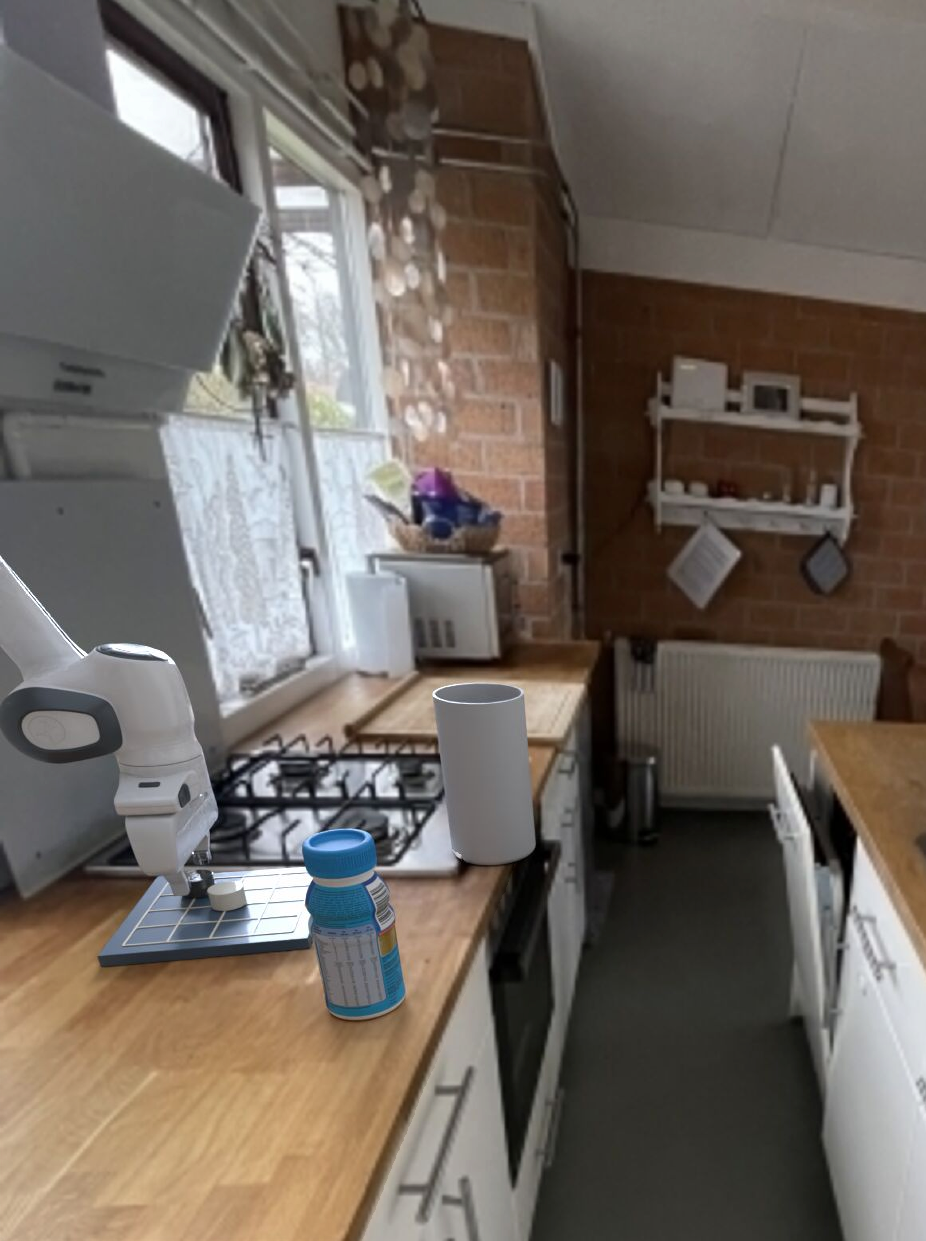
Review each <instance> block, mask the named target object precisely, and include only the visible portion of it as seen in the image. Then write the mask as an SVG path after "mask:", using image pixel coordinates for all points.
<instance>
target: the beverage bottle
mask: <svg viewBox="0 0 926 1241" xmlns="http://www.w3.org/2000/svg"><path fill="white" fill-rule="evenodd" d="M375 844H376V843H375V840H374V838H373V836H372V835H371V834H370V833H369V832H367V831H365V830H362V829H357V828H335V829H329V830H325V831H321V832H317V833H314V834H312V835H310V836H308V837H307V838H306V839H304V840H303V841H302V844H301V853H302V859H303V863H304V867H306V871H307V872H308V874H309V876H311V877H312V878H313V879H312V881H311V883H310V885H309V887H308V889H307V892H306V897H305V907H306V910H307V911H308V912H309V913H310V914H311V915H310V917H309V920H308V928H309V933H310V935H311V936H312V939H313V941H312V944H313V947H314V948H313V949H314V952H315V957H316V962H317V966H318V970H319V975H320V980H321V984H322V990H323V993H324V1000H325V1005H326V1008H327V1011H328V1012H329V1013H330V1014H331V1015H333V1016H334V1017H336V1018H339V1019H342V1020H346V1021H365V1020H370V1019H376V1018H378V1017H381V1016H383V1015H386V1014H388V1013H390V1012H392V1011H393V1010H396V1008H398V1007H399V1006H400V1005H401V1004H402V1002H404V999H405V997H406V994H407V993H406V991H407V990H406V986H405V982H404V975H403V969H402V968H403V967H402V963H401V955H400V948H399V942H398V936H397V935H398V934H397V931H396V930H397V929H396V914H395V910H394V908H393V907H392V905H391V904H390V902H389V901H390V899H391V891H390V889H389V887H388V885H387V883H386V882H385V880H384V879H383V877H382V876H381V875H380V874H379V873H378V872H377V871H376V870H375V869H376V867H377V863H378V858H377V850H376V846H375Z"/></svg>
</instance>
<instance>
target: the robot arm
mask: <svg viewBox="0 0 926 1241" xmlns="http://www.w3.org/2000/svg"><path fill="white" fill-rule="evenodd" d="M0 648H1V649H2V651H4V652H5V653H6V655H7V656H8V657H9V658H10V659H11V660H12V661H13V663H14V664H15V665H16V667H17V668H18V669H19V671H20V673H21V676H22V679H23V682H21V683H20V684H18V685H17V686H16V687H14V688H13V690H11V691H10V692H9V693H8V695H7V696H5V698H4V699H3V700H2V702H1V704H0V731H1V733H2V735H3V736H4V738H5V739H6V740H7V742H8V743H9V744H10V745H11V746H12V747H13V748H14V749H15V750H16V751H18V752H20V753H21V754H23V755H25V756H26V757H28V758H31V759H33V760H35V761H38V762H42V763H46V764H53V765H54V764H56V765H57V764H58V765H61V764H63V765H64V764H68V763H69V764H71V763H75V762H80V761H86V760H91V759H96V758H100V757H103V756H107V755H114V756H115V758H116V761H117V765H118V768H119V774H118V777H119V783H118V786H117V790H116V792H115V795H114V797H113V804H114V809H115V812H116V814H117V815H118V816H125V818H124V820H125V821H124V824H125V830H126V834H127V837H128V841H129V844H130V846H131V849H132V853H133V854H134V857H135V859H136V862H137V865H138V867H139V869H140V870H141V871H142V872H143V873H144V874H145V875H146V876H148V877H153V876H154V877H161V876H163V877H164V878H165V879H166V880H167V882H168V883H169V884H170V886H171V889H172V893H173V894H174V895H175V896H184V895H188V894H189V892H190V890H191V889H192V886H191V882H190V878H186V876H185V872H184V871H185V870H186V869H185V864H187V862H188V860H189V859H190V857H192V859H193V860H192V861H193V864H194V865H195V866H207V865H209V863H210V862H211V861H212V858H213V857H212V854H211V850H210V849H211V833H210V829H211V828H212V827H213V825H214V824H215V822H216V821H217V820H218V818H219V808H218V805H217V800H216V798H215V794H214V791H213V787H212V783H211V779H210V774H209V772H208V771H209V770H208V767H207V762H206V758H205V755H204V751H203V748H202V745H201V744H200V741H198V739H197V736H196V734H195V714H194V711H193V706H192V703H191V699H190V696H189V692H188V689H187V687H186V684H185V681H184V679H183V676H182V673H181V672H180V669H179V668H178V665H177V664H176V662H175V660H174V659H173V658H171V657H170V656H169V655H168V654H166V653H165V652H164V651H161V650H159V649H157V648H156V649H155V648H154V647H151V646H146V645H141V644H135V643H134V644H133V643H105V644H101V645H98V646H96V647H94V648H93V649H92V650H91V651H90V652H89V653H86V651H84V650H83V649H82V648H80V647H79V646H78V645H77V644H76V643H75V642H74V641H73V640H72V639H71V638H70V637H69V635H67V633H66V632H65V631H64V629H63V628H61V626H60V625H59V624H58V623H57V622H56V620H55V619H54V618H53V617H52V615H51V614H50V613H49V612H48V611H47V609H46V608H45V607H44V606H43V605H42V603H41V602H40V601H39V599H38V598H36V596H35V595H34V593H33V592H31V590H30V589H29V587H27V586H26V584H25V583H24V582H23V580H22V579H21V578H20V577H19V576H18V574H17V573H15V571H14V570H13V569H12V567H10V565H9V564H8V563H7V562H6V560H4V559H3V557H2V556H1V555H0Z"/></svg>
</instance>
